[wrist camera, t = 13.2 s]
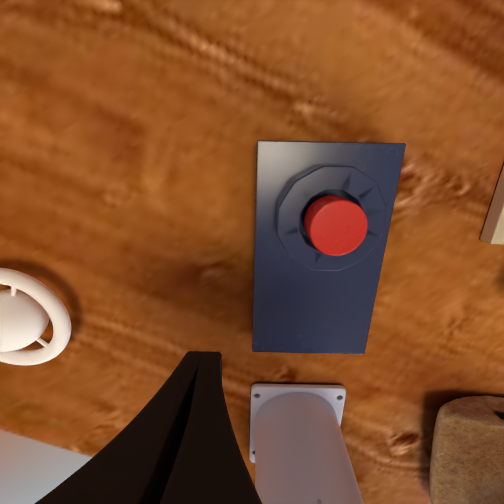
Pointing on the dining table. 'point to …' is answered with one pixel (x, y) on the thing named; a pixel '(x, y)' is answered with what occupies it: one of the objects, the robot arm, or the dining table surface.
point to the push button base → (307, 255)
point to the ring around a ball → (30, 319)
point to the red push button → (335, 225)
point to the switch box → (495, 216)
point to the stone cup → (468, 452)
